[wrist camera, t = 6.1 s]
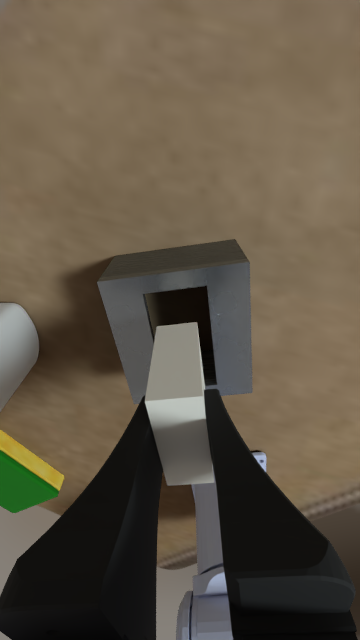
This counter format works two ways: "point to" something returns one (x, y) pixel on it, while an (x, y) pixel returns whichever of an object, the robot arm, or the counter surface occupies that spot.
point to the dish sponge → (24, 477)
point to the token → (179, 405)
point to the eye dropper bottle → (15, 348)
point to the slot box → (179, 273)
